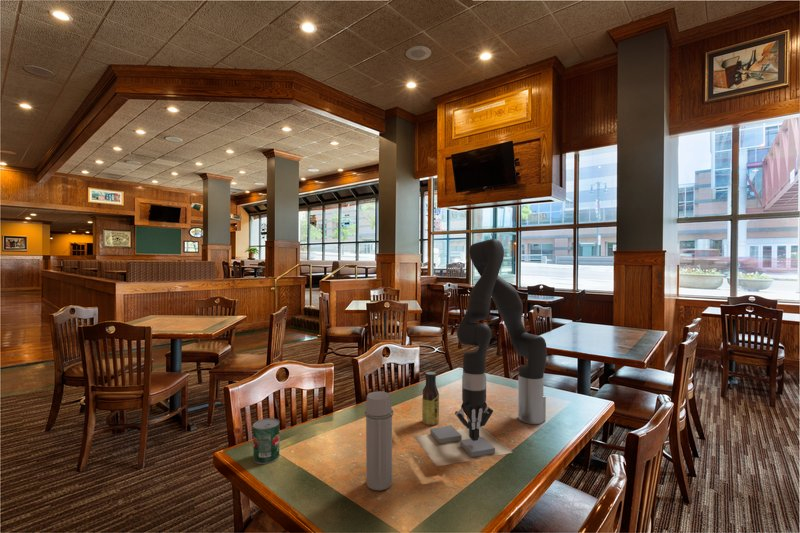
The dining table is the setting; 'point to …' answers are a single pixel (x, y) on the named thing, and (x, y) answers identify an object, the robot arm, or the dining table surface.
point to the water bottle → (379, 440)
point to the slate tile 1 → (445, 434)
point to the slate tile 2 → (477, 447)
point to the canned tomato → (266, 441)
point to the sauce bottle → (430, 401)
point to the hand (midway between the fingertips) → (474, 439)
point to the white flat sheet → (457, 448)
